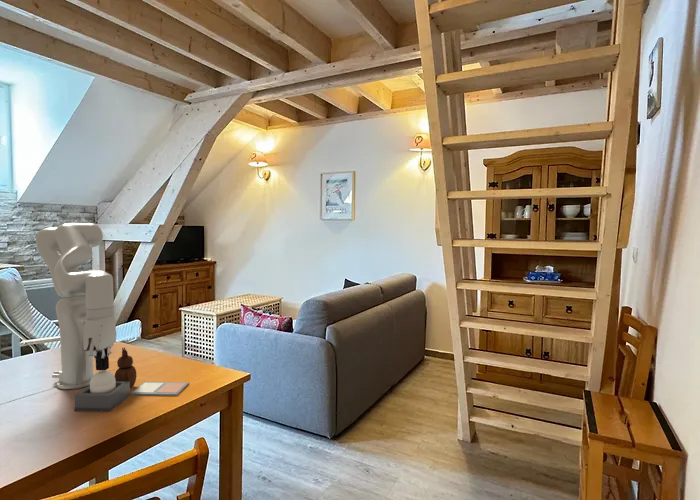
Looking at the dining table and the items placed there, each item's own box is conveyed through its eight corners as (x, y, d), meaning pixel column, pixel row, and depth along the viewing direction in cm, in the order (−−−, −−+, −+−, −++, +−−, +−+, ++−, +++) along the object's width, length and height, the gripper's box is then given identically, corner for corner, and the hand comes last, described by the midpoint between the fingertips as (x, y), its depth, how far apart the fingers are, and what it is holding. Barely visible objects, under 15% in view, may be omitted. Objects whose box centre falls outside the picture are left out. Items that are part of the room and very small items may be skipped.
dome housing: (74, 410, 125) (74, 395, 125) (97, 395, 136) (96, 381, 136) (110, 411, 125) (109, 395, 124) (130, 396, 136) (129, 381, 135)
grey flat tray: (129, 395, 136) (129, 393, 136) (144, 383, 146) (144, 381, 146) (176, 395, 136) (176, 393, 136) (189, 384, 146) (188, 382, 146)
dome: (85, 397, 127) (84, 375, 126) (99, 387, 134) (98, 367, 133) (107, 397, 127) (106, 375, 126) (120, 388, 134) (119, 367, 133)
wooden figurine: (126, 392, 138) (124, 349, 137) (111, 391, 140) (110, 348, 138) (140, 384, 145) (138, 343, 144) (126, 383, 146) (124, 342, 145)
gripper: (103, 307, 136) (105, 361, 137) (72, 318, 121) (74, 378, 122) (125, 307, 136) (127, 361, 137) (97, 318, 121) (99, 378, 122)
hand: (102, 369), depth 129 cm, fingers closed
